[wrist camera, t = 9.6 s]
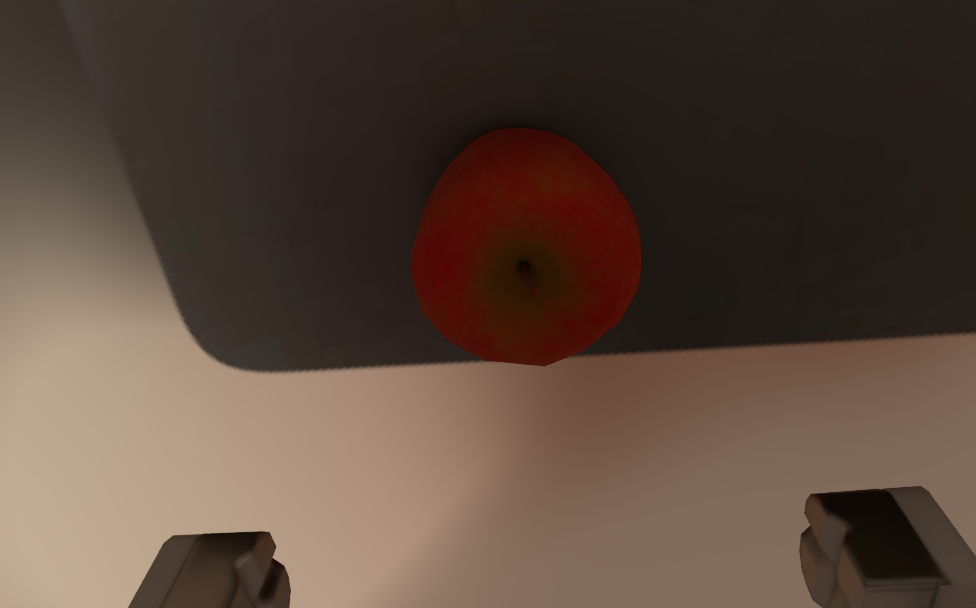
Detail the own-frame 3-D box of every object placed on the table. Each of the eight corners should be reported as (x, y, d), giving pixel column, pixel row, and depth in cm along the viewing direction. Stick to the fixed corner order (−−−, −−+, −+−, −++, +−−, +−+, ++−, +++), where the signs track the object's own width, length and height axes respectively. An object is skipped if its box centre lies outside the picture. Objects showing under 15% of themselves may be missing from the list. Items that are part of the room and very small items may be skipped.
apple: (486, 293, 26) (477, 424, 19) (396, 153, 23) (351, 250, 16) (642, 219, 24) (689, 336, 17) (564, 59, 21) (587, 126, 15)
